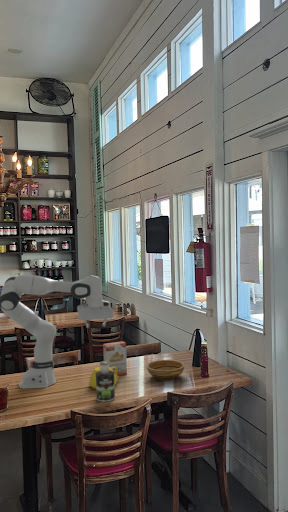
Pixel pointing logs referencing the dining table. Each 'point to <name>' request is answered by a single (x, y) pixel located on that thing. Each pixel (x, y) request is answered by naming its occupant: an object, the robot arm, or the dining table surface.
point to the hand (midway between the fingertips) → (95, 326)
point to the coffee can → (105, 387)
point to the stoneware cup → (104, 367)
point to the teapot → (97, 369)
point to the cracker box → (116, 356)
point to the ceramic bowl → (165, 369)
